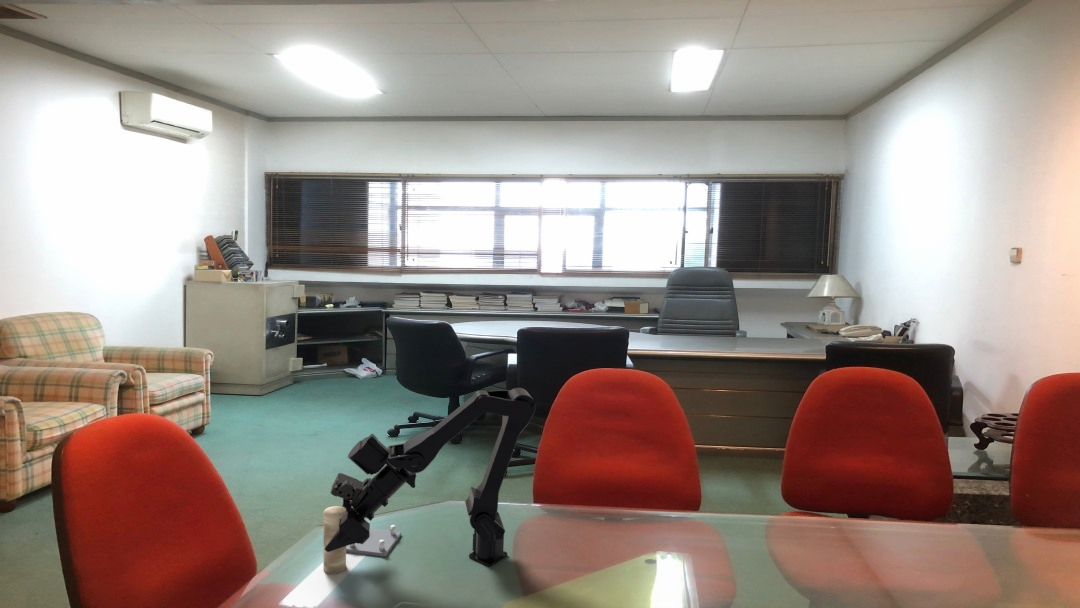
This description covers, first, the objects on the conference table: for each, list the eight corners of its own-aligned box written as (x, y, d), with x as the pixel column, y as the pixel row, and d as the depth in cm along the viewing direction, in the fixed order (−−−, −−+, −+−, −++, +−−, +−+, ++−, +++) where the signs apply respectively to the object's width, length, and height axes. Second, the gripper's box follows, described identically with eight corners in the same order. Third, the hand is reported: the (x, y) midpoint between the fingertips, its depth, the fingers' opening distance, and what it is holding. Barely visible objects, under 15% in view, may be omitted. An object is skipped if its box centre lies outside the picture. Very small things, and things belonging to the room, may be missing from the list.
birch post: (350, 567, 136) (350, 510, 134) (332, 576, 132) (332, 518, 131) (337, 560, 139) (337, 504, 137) (319, 568, 135) (318, 511, 133)
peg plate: (401, 535, 151) (401, 524, 150) (385, 556, 141) (385, 545, 141) (361, 530, 152) (361, 519, 152) (343, 551, 142) (343, 540, 142)
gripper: (356, 447, 142) (305, 496, 141) (352, 481, 125) (293, 537, 123) (392, 478, 145) (341, 527, 144) (392, 516, 127) (335, 571, 126)
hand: (328, 539), depth 134 cm, fingers open, 9 cm apart
